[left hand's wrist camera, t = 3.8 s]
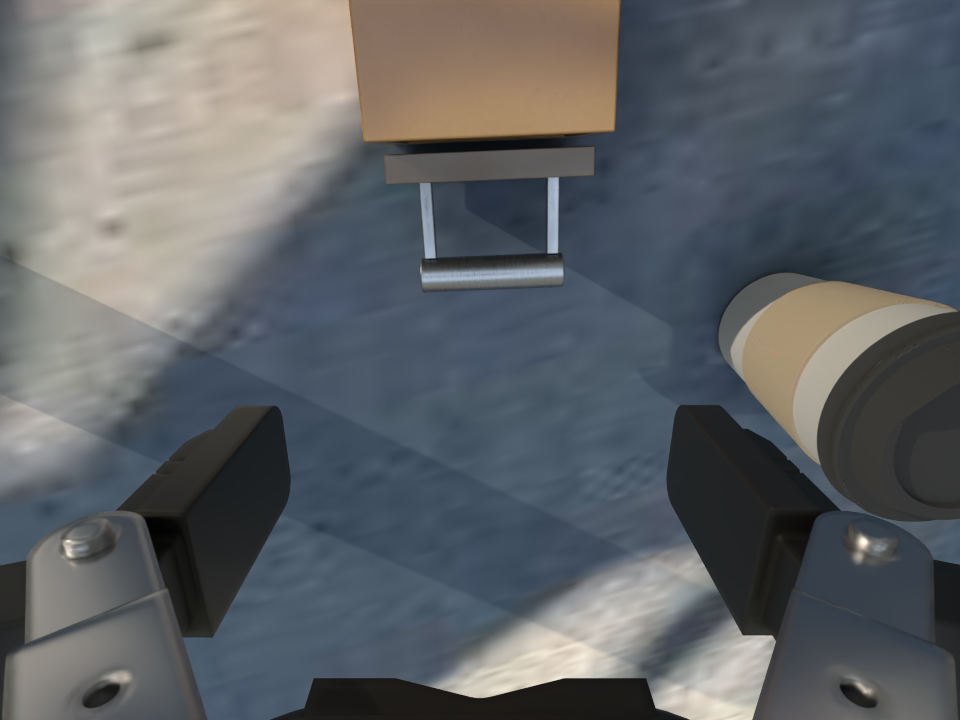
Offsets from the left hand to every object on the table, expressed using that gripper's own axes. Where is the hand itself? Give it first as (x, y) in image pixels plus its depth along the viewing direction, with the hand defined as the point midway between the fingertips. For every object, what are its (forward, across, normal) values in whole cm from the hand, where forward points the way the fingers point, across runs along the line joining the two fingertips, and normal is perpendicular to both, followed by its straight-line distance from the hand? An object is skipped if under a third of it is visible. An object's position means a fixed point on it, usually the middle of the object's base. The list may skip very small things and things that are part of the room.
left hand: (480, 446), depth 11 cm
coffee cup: (+23, +18, -4) cm, 29 cm away
